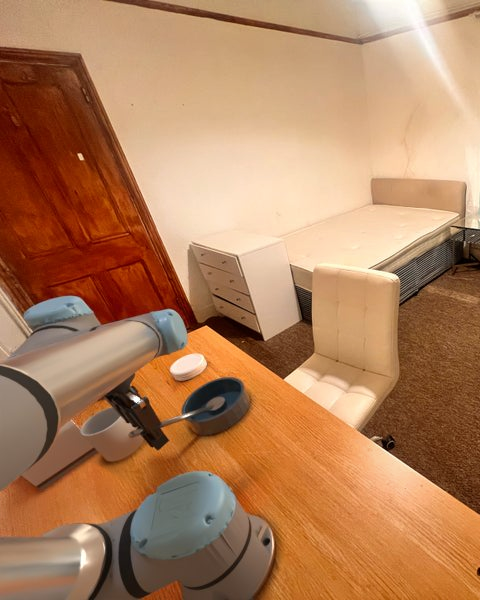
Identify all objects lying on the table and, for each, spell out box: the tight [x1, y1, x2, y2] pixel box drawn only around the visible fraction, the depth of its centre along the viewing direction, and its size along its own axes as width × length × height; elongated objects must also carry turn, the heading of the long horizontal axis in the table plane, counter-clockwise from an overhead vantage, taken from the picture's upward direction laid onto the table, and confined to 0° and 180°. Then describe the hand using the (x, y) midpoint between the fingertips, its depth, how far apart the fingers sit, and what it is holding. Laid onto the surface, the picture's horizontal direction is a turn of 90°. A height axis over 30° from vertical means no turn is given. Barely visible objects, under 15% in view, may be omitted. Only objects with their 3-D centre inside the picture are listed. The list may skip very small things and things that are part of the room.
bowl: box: [180, 376, 251, 436], centre depth 87 cm, size 16×16×6 cm
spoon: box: [128, 397, 227, 438], centre depth 77 cm, size 20×5×12 cm, turn 158°
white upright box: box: [0, 346, 99, 492], centre depth 69 cm, size 11×11×35 cm
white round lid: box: [169, 353, 208, 382], centre depth 103 cm, size 10×10×4 cm
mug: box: [80, 406, 145, 463], centre depth 78 cm, size 12×8×11 cm
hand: (159, 443), depth 72 cm, fingers closed on spoon
